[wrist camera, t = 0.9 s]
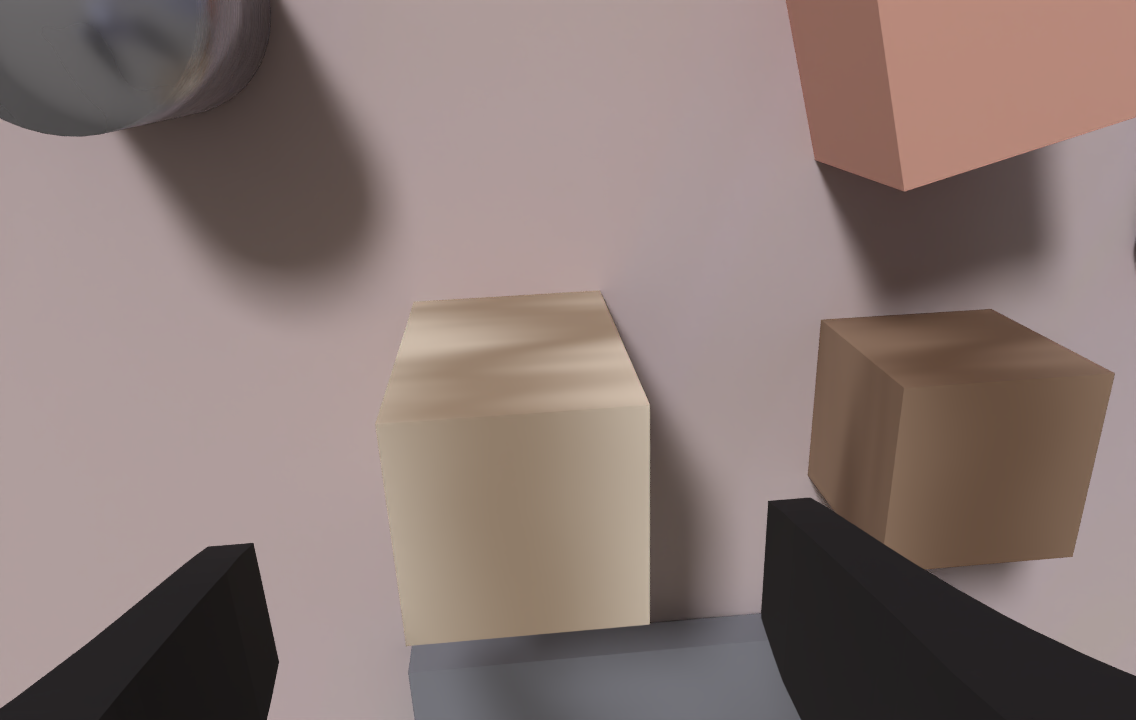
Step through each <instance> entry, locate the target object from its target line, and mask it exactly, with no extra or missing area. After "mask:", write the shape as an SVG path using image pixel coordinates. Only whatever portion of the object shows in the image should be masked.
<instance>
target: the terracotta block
mask: <svg viewBox="0 0 1136 720" xmlns="http://www.w3.org/2000/svg"><path fill="white" fill-rule="evenodd" d="M786 3H787V9H788V14H789V20H790V25H791V31H792V36H793V42H794V47H795V53H796V58H797V64H798V69H799V75H800V80H801V86H802V91H803V97H804V102H805V107H806V113H807V118H808V124H809V129H810V135H811V140H812V146H813V151H814V157H815V160H816V161H819V162H822V163H825V164H828V165H831V166H833V167H836V168H839V169H842V170H845V171H848V172H850V173H853V174H856V175H859V176H862V177H865V178H867V179H870V180H873V181H876V182H879V183H882V184H884V185H887V186H890V187H893V188H896V189H899V190H901V191H904V192H905V191H908V190H911V189H914V188H917V187H920V186H923V185H927V184H930V183H933V182H936V181H939V180H942V179H945V178H948V177H951V176H955V175H958V174H961V173H964V172H967V171H970V170H973V169H976V168H979V167H982V166H986V165H989V164H992V163H995V162H998V161H1001V160H1004V159H1007V158H1010V157H1014V156H1017V155H1020V154H1023V153H1026V152H1029V151H1032V150H1035V149H1038V148H1042V147H1045V146H1048V145H1051V144H1054V143H1057V142H1060V141H1063V140H1066V139H1070V138H1073V137H1076V136H1079V135H1082V134H1085V133H1088V132H1091V131H1094V130H1098V129H1101V128H1104V127H1107V126H1110V125H1113V124H1116V123H1119V122H1122V121H1126V120H1129V119H1132V118H1135V117H1136V0H786Z"/></svg>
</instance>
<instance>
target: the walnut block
mask: <svg viewBox="0 0 1136 720" xmlns="http://www.w3.org/2000/svg"><path fill="white" fill-rule="evenodd" d="M1114 375H1115V373H1113V372H1111V371H1109V370H1107V369H1105V368H1104V367H1102V366H1100V365H1098V364H1096V363H1094V362H1092V361H1090V360H1088V359H1086V358H1084V357H1082V356H1080V355H1079V354H1077V353H1075V352H1073V351H1071V350H1069V349H1067V348H1065V347H1063V346H1061V345H1059V344H1057V343H1056V342H1054V341H1052V340H1050V339H1048V338H1046V337H1044V336H1042V335H1040V334H1038V333H1036V332H1034V331H1032V330H1031V329H1029V328H1027V327H1025V326H1023V325H1021V324H1019V323H1017V322H1015V321H1013V320H1011V319H1009V318H1007V317H1006V316H1004V315H1002V314H1000V313H998V312H996V311H994V310H992V309H985V310H969V311H953V312H937V313H921V314H905V315H889V316H873V317H857V318H841V319H826V320H821V326H820V338H819V350H818V362H817V373H816V385H815V397H814V409H813V420H812V432H811V444H810V456H809V467H808V476H809V477H810V479H811V480H812V482H813V483H814V484H815V486H816V487H817V488H818V490H819V491H820V492H821V494H822V495H823V496H824V498H825V499H826V500H827V502H828V503H829V504H830V506H831V507H832V509H833V510H834V511H835V513H837V514H838V515H840V516H841V517H843V518H845V519H846V520H848V521H849V522H851V523H852V524H854V525H855V526H857V527H858V528H860V529H862V530H863V531H865V532H866V533H868V534H869V535H871V536H872V537H874V538H875V539H877V540H878V541H880V542H882V543H883V544H885V545H886V546H888V547H889V548H891V549H892V550H894V551H896V552H897V553H899V554H900V555H902V556H903V557H905V558H907V559H908V560H910V561H911V562H913V563H915V564H916V565H918V566H919V567H921V568H923V569H935V568H947V567H959V566H970V565H982V564H994V563H1005V562H1017V561H1028V560H1040V559H1052V558H1063V557H1073V552H1074V548H1075V544H1076V539H1077V535H1078V531H1079V526H1080V522H1081V518H1082V514H1083V509H1084V505H1085V501H1086V496H1087V492H1088V488H1089V483H1090V479H1091V475H1092V470H1093V466H1094V462H1095V457H1096V453H1097V449H1098V444H1099V440H1100V436H1101V432H1102V427H1103V423H1104V419H1105V414H1106V410H1107V406H1108V401H1109V397H1110V393H1111V388H1112V384H1113V380H1114Z"/></svg>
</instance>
